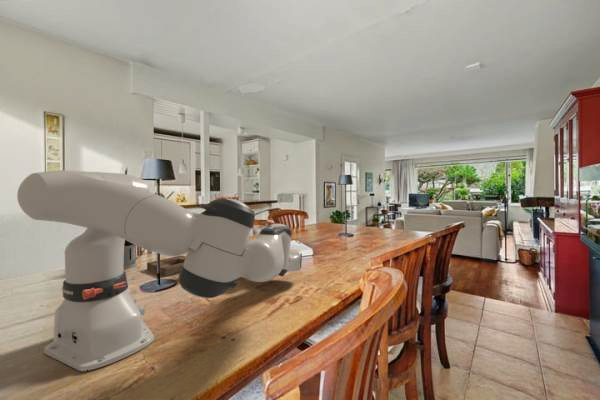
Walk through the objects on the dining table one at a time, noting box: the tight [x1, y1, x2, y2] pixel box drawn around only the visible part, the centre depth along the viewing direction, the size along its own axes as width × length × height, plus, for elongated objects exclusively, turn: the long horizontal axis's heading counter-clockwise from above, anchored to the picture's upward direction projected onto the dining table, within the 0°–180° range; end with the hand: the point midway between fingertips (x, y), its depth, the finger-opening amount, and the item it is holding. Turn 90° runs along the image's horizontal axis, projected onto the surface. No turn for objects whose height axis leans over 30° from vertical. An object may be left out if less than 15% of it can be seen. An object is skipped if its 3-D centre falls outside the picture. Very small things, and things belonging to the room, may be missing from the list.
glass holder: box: [124, 240, 146, 270], centre depth 120 cm, size 9×14×15 cm, turn 84°
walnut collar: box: [146, 254, 187, 277], centre depth 118 cm, size 16×16×3 cm
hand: (228, 256), depth 108 cm, fingers open, 8 cm apart
